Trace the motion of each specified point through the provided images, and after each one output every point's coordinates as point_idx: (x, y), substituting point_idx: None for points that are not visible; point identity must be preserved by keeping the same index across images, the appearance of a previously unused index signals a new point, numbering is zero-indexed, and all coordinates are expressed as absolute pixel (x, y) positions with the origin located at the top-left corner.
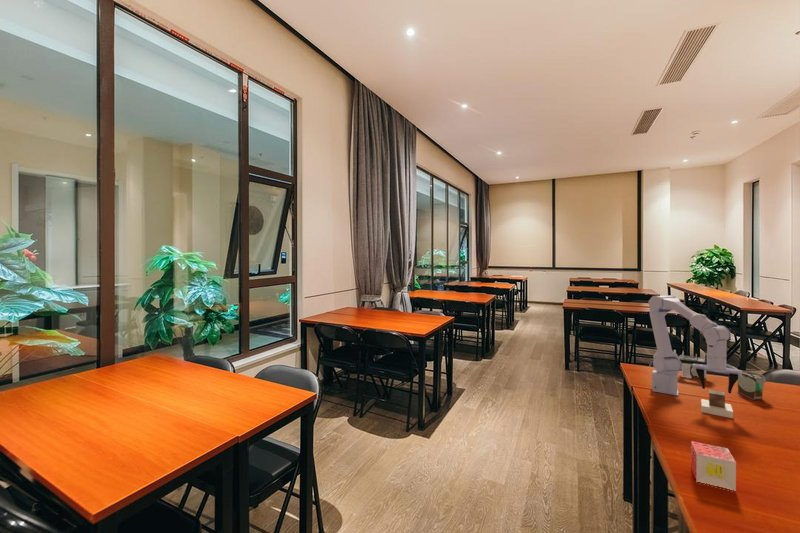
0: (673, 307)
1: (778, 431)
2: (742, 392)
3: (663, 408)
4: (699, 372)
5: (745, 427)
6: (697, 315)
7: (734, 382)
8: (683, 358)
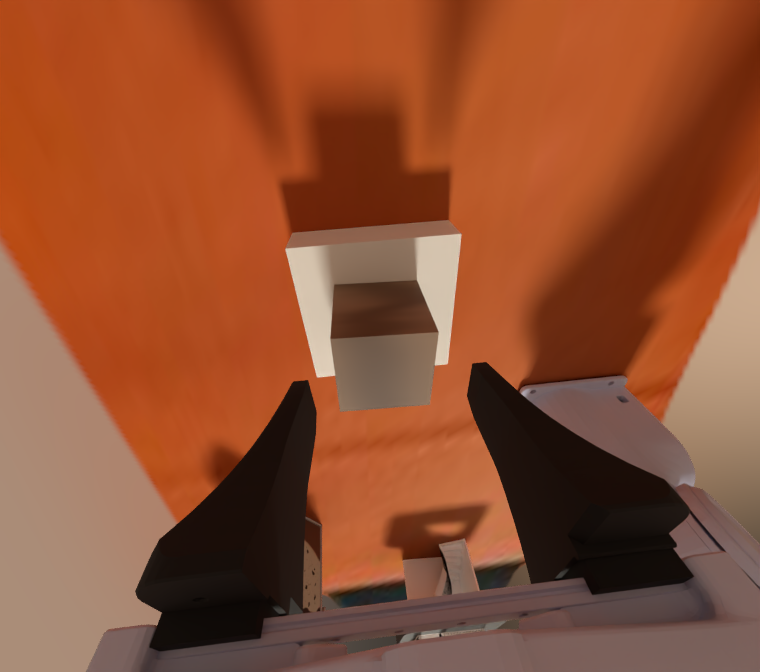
0: None
1: (31, 162)
2: (308, 526)
3: (696, 92)
4: (664, 505)
5: (189, 66)
6: None
7: (224, 484)
8: (483, 627)
